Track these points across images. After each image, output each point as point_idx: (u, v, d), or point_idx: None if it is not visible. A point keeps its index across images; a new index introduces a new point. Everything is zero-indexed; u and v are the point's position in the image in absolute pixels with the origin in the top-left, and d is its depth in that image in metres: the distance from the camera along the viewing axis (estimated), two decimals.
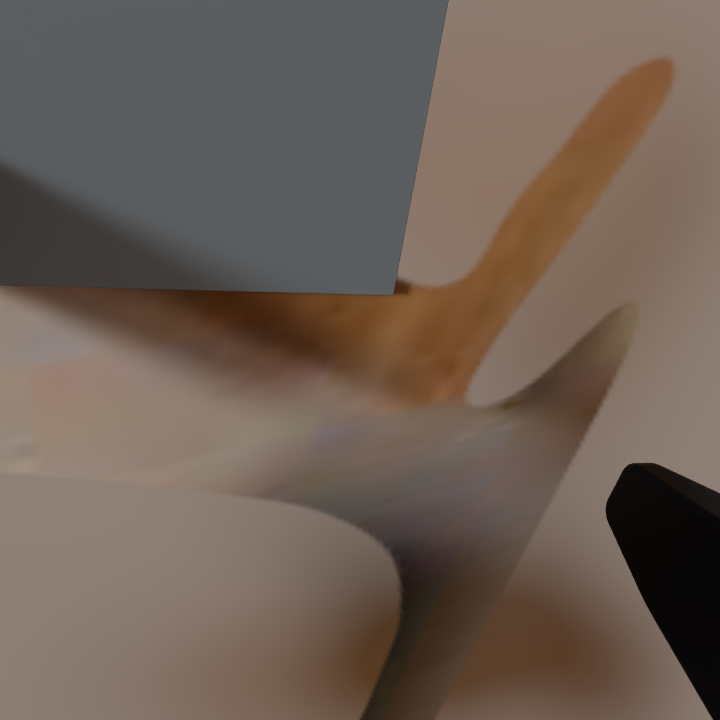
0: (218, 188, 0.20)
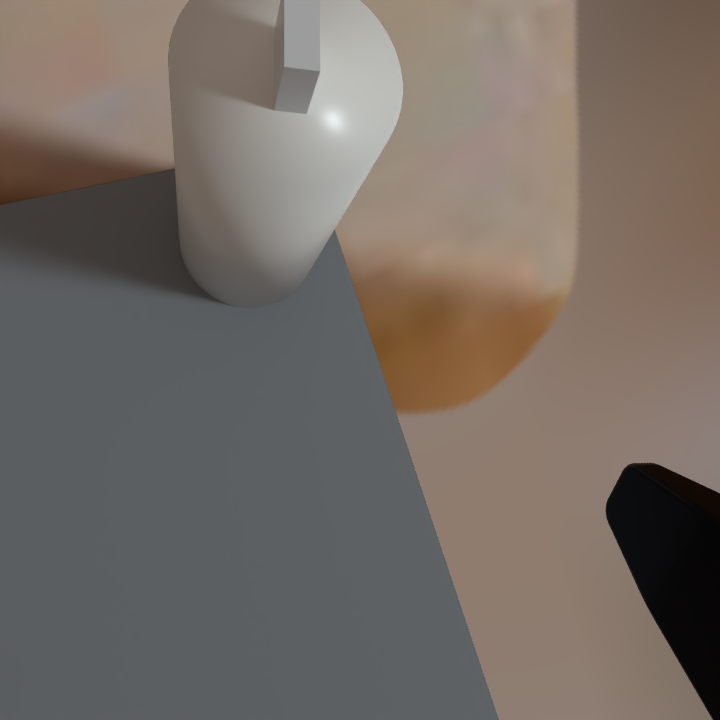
0: None
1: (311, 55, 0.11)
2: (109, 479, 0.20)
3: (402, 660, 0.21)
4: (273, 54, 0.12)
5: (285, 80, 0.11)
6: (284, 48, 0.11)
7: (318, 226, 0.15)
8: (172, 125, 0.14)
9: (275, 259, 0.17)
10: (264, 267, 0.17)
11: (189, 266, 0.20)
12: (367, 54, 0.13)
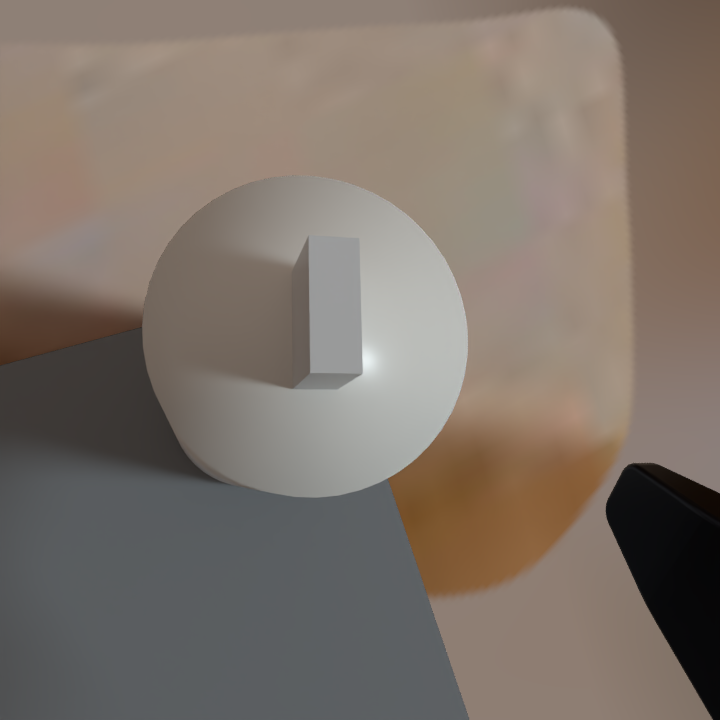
0: None
1: (349, 350, 0.07)
2: (84, 717, 0.16)
3: None
4: (290, 305, 0.09)
5: (312, 377, 0.08)
6: (310, 343, 0.07)
7: None
8: None
9: None
10: None
11: (182, 448, 0.17)
12: (418, 293, 0.09)
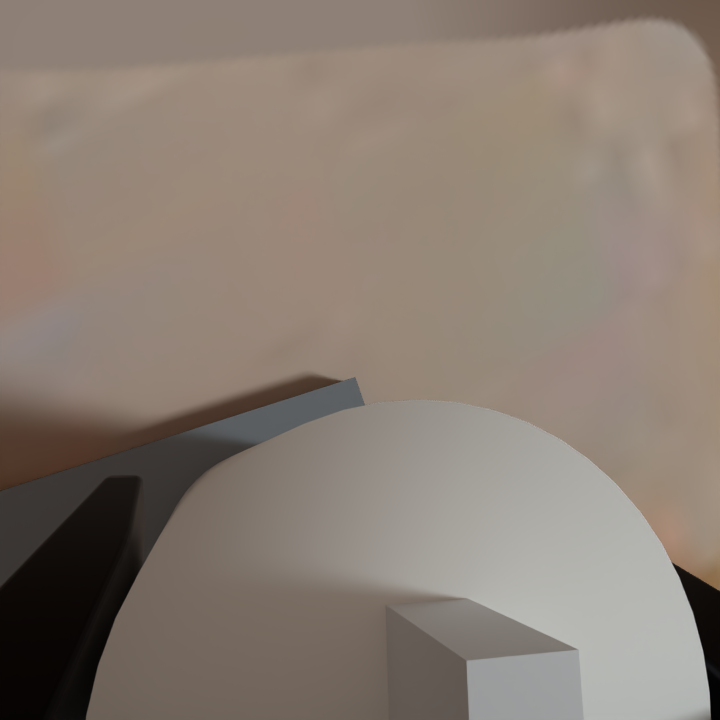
0: None
1: None
2: None
3: None
4: (384, 675, 0.04)
5: None
6: None
7: None
8: None
9: None
10: None
11: None
12: (618, 620, 0.05)
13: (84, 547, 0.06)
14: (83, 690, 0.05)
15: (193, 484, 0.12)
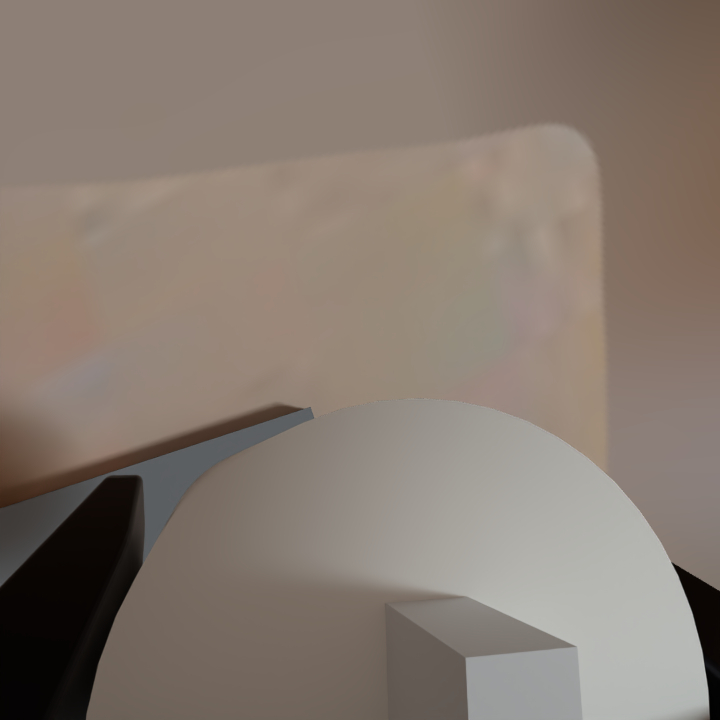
0: None
1: None
2: None
3: None
4: (383, 673, 0.04)
5: None
6: None
7: None
8: None
9: None
10: None
11: None
12: (619, 617, 0.05)
13: (84, 547, 0.06)
14: (83, 690, 0.05)
15: None
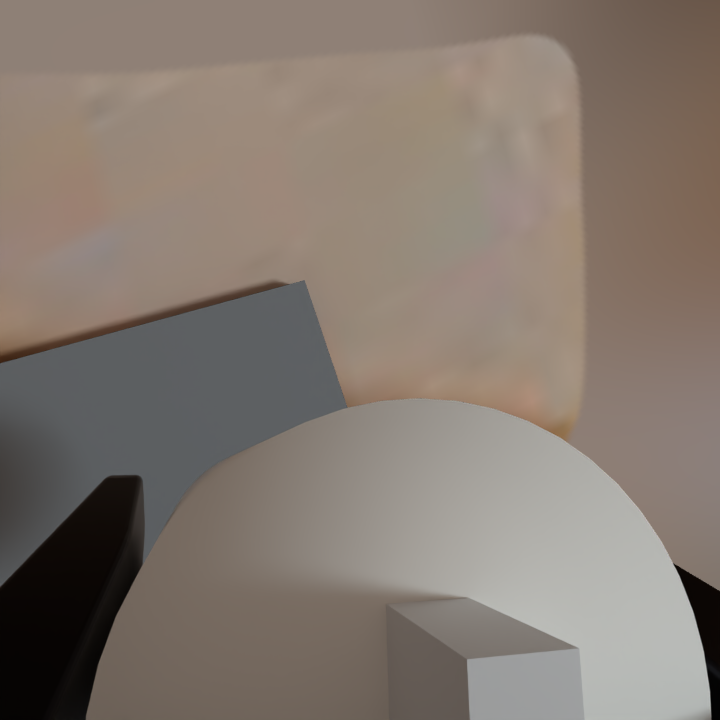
0: None
1: None
2: None
3: None
4: (384, 674, 0.04)
5: None
6: None
7: None
8: None
9: None
10: None
11: None
12: (621, 618, 0.05)
13: (84, 547, 0.06)
14: (83, 690, 0.05)
15: None
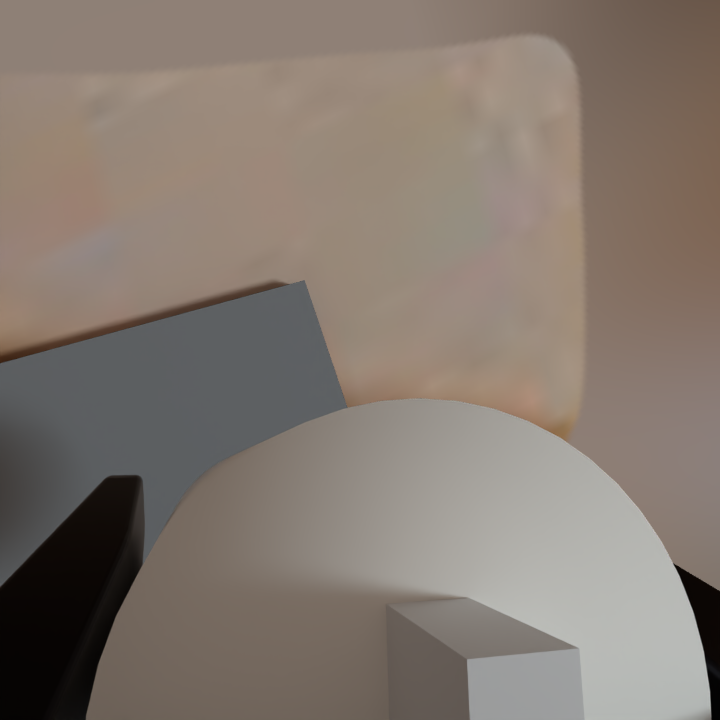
0: None
1: None
2: None
3: None
4: (384, 674, 0.04)
5: None
6: None
7: None
8: None
9: None
10: None
11: None
12: (621, 618, 0.05)
13: (84, 547, 0.06)
14: (83, 690, 0.05)
15: None
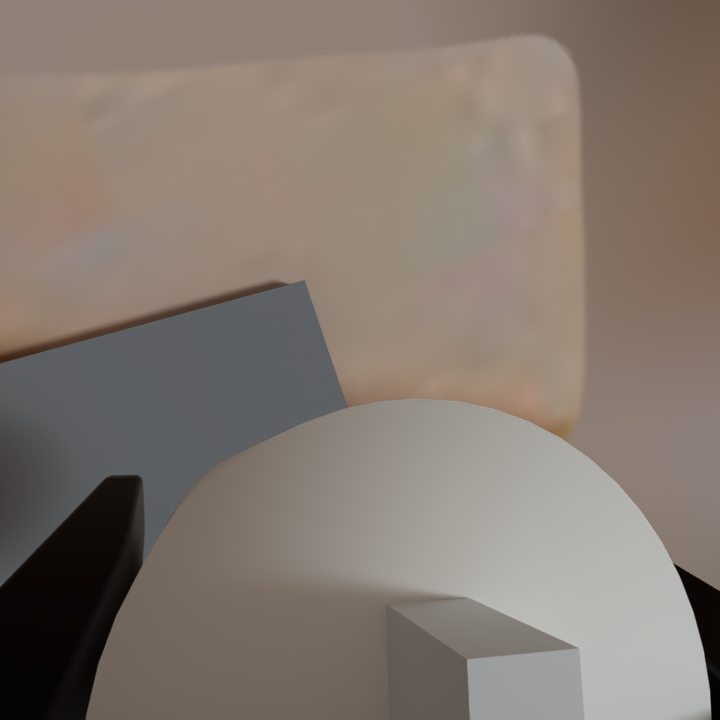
0: None
1: None
2: None
3: None
4: (384, 674, 0.04)
5: None
6: None
7: None
8: None
9: None
10: None
11: None
12: (621, 618, 0.05)
13: (84, 547, 0.06)
14: (83, 690, 0.05)
15: None
